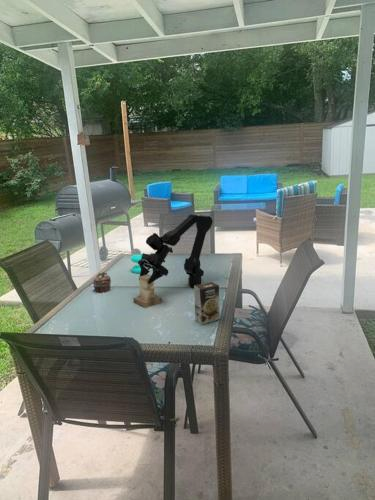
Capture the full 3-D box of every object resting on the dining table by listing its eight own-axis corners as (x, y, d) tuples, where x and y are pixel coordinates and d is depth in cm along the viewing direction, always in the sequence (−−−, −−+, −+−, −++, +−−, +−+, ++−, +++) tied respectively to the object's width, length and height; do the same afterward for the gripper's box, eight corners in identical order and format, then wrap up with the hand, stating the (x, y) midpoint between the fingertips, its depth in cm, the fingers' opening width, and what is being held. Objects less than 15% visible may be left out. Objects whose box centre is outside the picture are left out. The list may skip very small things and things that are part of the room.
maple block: (148, 294, 196) (147, 274, 193) (154, 297, 193) (153, 276, 190) (140, 297, 193) (139, 276, 190) (146, 300, 189) (145, 279, 186)
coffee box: (202, 325, 166) (200, 289, 162) (195, 319, 171) (193, 285, 167) (220, 320, 170) (219, 285, 166) (212, 315, 175) (211, 281, 171)
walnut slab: (150, 298, 201) (149, 292, 200) (162, 303, 193) (161, 297, 192) (133, 303, 194) (133, 298, 194) (145, 309, 187) (144, 303, 186)
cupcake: (105, 286, 221) (103, 269, 218) (115, 289, 214) (113, 272, 211) (90, 290, 214) (88, 273, 212) (99, 294, 208) (97, 276, 205)
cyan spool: (127, 257, 241) (137, 253, 249) (128, 272, 244) (138, 268, 252) (139, 258, 236) (150, 254, 244) (141, 274, 238) (151, 270, 247)
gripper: (139, 243, 196) (122, 269, 192) (162, 249, 182) (144, 277, 178) (152, 255, 203) (136, 281, 199) (175, 261, 189) (159, 289, 185)
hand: (143, 282), depth 190 cm, fingers open, 7 cm apart
